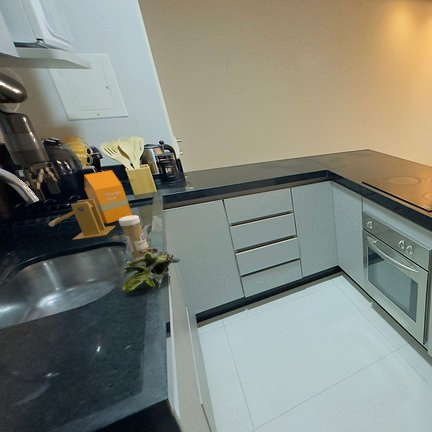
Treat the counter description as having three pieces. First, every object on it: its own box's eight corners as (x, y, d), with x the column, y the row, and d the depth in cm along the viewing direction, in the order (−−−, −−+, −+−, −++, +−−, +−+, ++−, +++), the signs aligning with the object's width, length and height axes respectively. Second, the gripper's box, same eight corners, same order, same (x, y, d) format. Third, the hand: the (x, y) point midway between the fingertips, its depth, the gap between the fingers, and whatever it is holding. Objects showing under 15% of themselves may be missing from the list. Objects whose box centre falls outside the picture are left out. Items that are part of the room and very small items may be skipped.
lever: (52, 228, 100) (45, 222, 98) (60, 223, 104) (54, 217, 103) (88, 209, 102) (82, 203, 100) (94, 205, 106) (89, 199, 105)
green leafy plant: (163, 293, 83) (180, 251, 85) (170, 303, 75) (189, 258, 77) (111, 286, 75) (132, 241, 77) (114, 297, 67) (136, 247, 69)
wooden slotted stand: (73, 242, 101) (58, 207, 97) (86, 232, 109) (72, 199, 105) (106, 237, 105) (93, 203, 100) (116, 228, 112) (104, 196, 108)
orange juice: (133, 218, 122) (117, 170, 115) (108, 225, 115) (88, 175, 108) (123, 215, 125) (106, 169, 118) (97, 222, 118) (78, 173, 111)
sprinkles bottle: (149, 259, 90) (135, 218, 85) (131, 263, 88) (115, 221, 83) (153, 253, 93) (139, 213, 89) (135, 256, 92) (120, 216, 87)
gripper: (25, 145, 97) (46, 192, 103) (-8, 152, 85) (18, 205, 91) (55, 144, 99) (74, 190, 105) (27, 150, 87) (50, 201, 93)
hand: (48, 196), depth 98 cm, fingers open, 8 cm apart
